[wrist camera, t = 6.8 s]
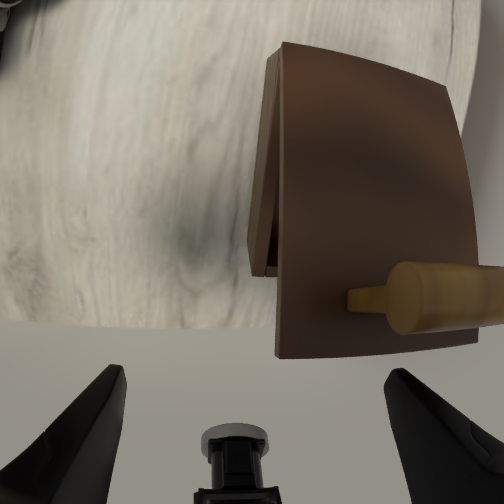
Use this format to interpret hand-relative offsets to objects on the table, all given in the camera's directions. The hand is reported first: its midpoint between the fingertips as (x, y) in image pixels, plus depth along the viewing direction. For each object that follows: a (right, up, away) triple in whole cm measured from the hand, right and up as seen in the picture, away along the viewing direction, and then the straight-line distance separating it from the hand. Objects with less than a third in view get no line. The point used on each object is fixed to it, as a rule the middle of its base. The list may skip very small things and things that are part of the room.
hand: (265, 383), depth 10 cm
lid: (+5, +6, +2) cm, 8 cm away
